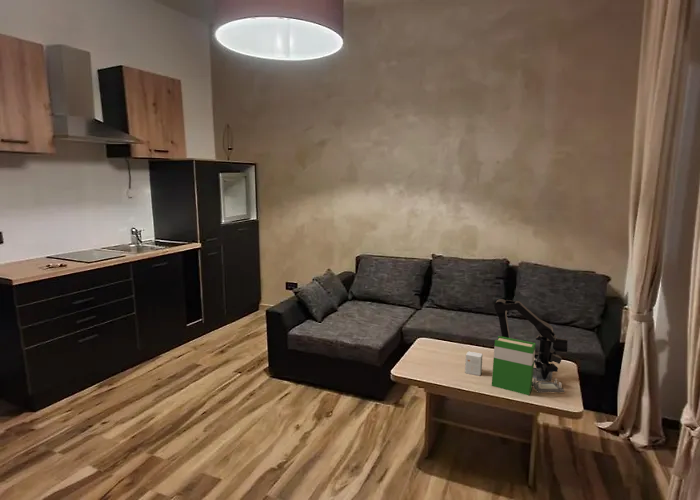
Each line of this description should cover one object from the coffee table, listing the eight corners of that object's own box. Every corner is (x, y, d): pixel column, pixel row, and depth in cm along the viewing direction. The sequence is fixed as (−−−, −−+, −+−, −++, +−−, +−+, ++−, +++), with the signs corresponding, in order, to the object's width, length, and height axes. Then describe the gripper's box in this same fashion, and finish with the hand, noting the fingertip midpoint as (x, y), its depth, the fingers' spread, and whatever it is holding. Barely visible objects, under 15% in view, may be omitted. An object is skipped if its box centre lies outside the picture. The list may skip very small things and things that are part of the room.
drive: (536, 381, 224) (537, 371, 223) (532, 377, 229) (533, 367, 228) (552, 381, 224) (553, 371, 223) (548, 377, 229) (549, 367, 228)
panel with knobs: (538, 392, 212) (538, 384, 211) (530, 383, 221) (530, 376, 220) (564, 392, 212) (565, 385, 212) (555, 384, 221) (556, 376, 220)
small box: (481, 372, 234) (483, 353, 232) (480, 376, 229) (481, 357, 227) (466, 369, 237) (467, 350, 235) (464, 373, 232) (465, 354, 230)
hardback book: (491, 385, 218) (494, 340, 214) (495, 380, 224) (498, 335, 220) (528, 395, 209) (533, 347, 205) (531, 389, 215) (535, 343, 211)
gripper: (569, 356, 215) (566, 385, 217) (552, 342, 233) (549, 369, 236) (547, 356, 215) (544, 385, 217) (531, 342, 233) (528, 369, 235)
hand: (542, 377), depth 226 cm, fingers closed on drive, 4 cm apart
